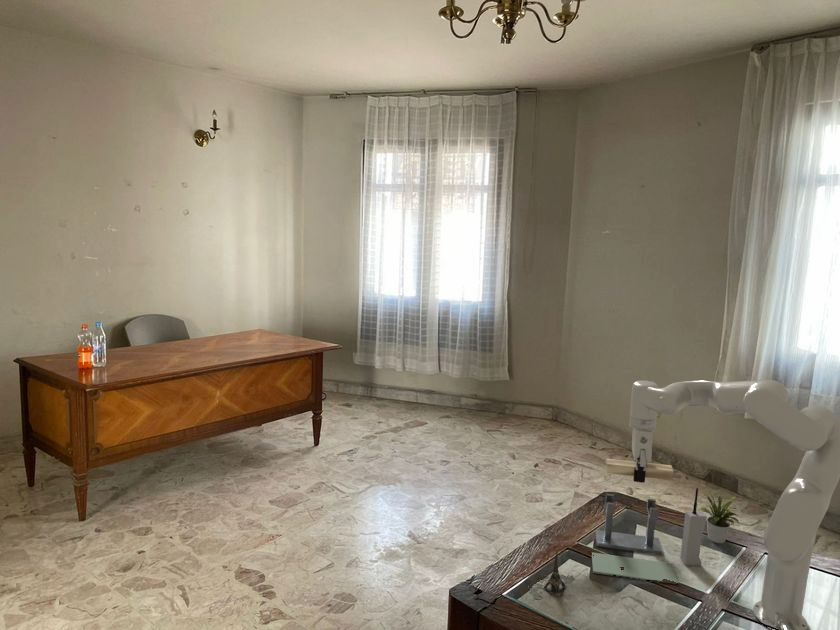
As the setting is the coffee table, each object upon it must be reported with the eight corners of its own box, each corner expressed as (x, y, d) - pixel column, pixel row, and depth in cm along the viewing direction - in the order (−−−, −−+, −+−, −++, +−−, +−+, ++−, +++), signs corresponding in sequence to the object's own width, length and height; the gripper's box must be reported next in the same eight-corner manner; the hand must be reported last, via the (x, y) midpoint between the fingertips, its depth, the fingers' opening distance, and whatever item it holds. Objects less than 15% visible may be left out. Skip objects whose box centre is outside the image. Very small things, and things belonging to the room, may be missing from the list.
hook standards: (662, 555, 190) (666, 511, 187) (597, 546, 194) (600, 503, 191) (658, 541, 198) (662, 499, 195) (595, 533, 202) (598, 492, 199)
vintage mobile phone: (701, 566, 185) (710, 491, 180) (685, 565, 185) (693, 491, 180) (695, 559, 188) (704, 485, 183) (680, 558, 188) (688, 485, 183)
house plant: (692, 546, 195) (697, 500, 192) (686, 524, 208) (691, 481, 205) (740, 554, 191) (746, 507, 188) (732, 532, 204) (737, 487, 201)
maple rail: (672, 480, 180) (673, 471, 179) (606, 472, 184) (607, 463, 184) (670, 474, 183) (671, 465, 183) (605, 467, 188) (606, 458, 187)
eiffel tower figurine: (571, 574, 180) (574, 534, 178) (586, 596, 170) (589, 554, 168) (523, 579, 178) (526, 538, 175) (535, 601, 168) (538, 558, 165)
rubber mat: (678, 585, 175) (678, 583, 175) (593, 572, 180) (593, 571, 180) (671, 565, 185) (672, 563, 185) (591, 554, 190) (591, 552, 190)
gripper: (659, 433, 172) (654, 492, 175) (652, 413, 188) (647, 468, 191) (632, 430, 174) (627, 489, 177) (627, 411, 189) (623, 465, 193)
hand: (638, 477), depth 184 cm, fingers closed on maple rail, 4 cm apart
